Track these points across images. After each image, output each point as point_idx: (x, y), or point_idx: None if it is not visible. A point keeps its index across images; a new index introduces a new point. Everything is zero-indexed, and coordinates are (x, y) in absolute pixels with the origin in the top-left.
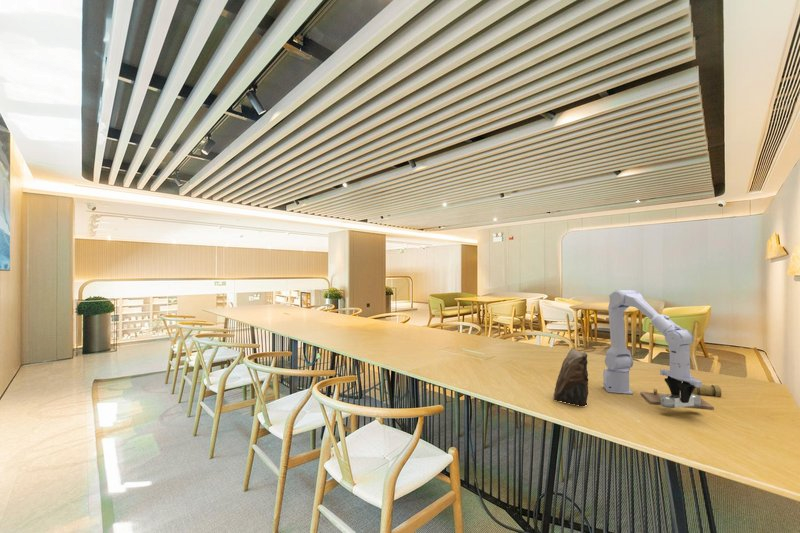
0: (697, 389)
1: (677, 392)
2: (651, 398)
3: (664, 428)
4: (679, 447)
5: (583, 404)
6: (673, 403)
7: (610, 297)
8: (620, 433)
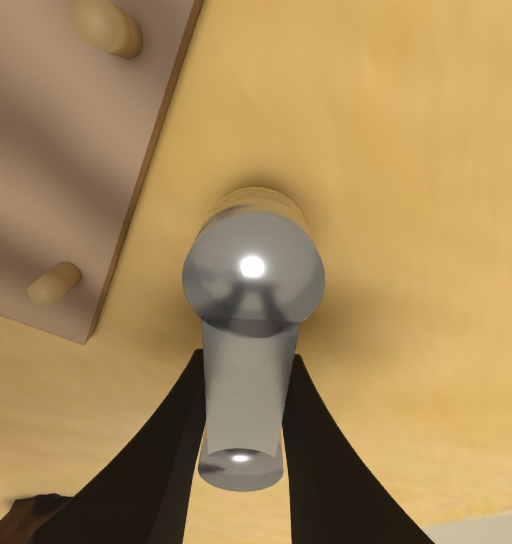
0: None
1: (197, 408)
2: (24, 304)
3: None
4: (451, 497)
5: None
6: (280, 434)
7: None
8: None
